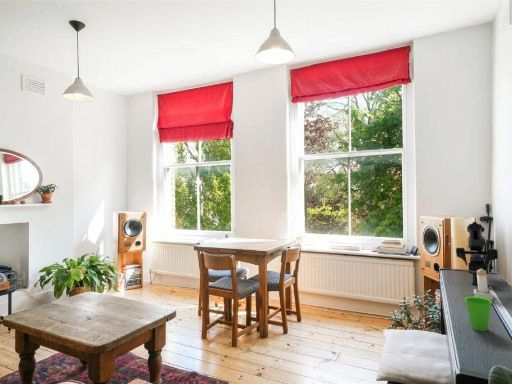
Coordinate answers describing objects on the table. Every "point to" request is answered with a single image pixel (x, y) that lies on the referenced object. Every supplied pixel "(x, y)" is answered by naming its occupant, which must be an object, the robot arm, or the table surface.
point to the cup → (479, 312)
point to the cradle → (484, 294)
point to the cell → (482, 281)
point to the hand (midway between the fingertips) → (476, 266)
